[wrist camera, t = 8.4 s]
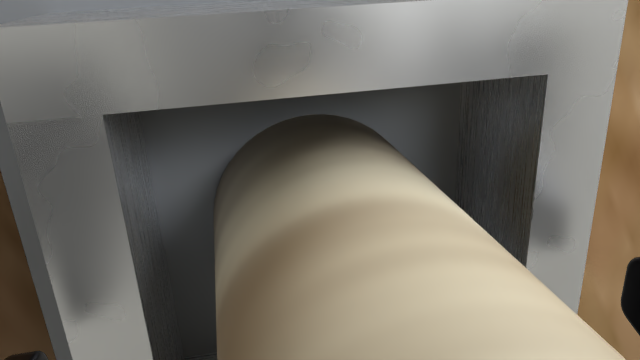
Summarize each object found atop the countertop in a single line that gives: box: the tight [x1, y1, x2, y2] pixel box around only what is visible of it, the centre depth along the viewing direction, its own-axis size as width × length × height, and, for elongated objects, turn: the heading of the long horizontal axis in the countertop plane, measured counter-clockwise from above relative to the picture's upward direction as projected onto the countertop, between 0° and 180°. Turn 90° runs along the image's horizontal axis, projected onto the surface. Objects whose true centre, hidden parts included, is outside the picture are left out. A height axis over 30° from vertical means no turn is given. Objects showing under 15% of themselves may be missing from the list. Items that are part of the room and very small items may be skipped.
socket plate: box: [0, 0, 461, 360], centre depth 12 cm, size 14×12×1 cm
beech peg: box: [213, 114, 626, 360], centre depth 7 cm, size 4×4×9 cm
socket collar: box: [0, 0, 628, 360], centre depth 10 cm, size 9×9×3 cm
